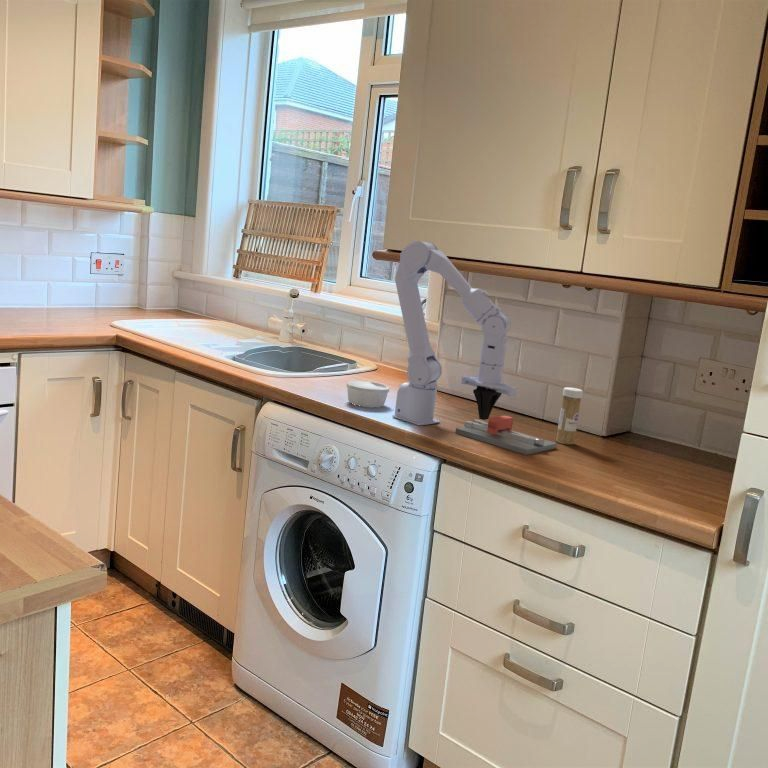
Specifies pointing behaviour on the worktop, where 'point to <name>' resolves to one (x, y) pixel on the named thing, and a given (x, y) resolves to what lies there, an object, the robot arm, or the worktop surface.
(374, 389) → the ramekin
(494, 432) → the red block
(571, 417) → the sprinkles bottle
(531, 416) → the worktop surface
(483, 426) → the tongs
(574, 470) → the worktop surface
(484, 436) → the slate board
